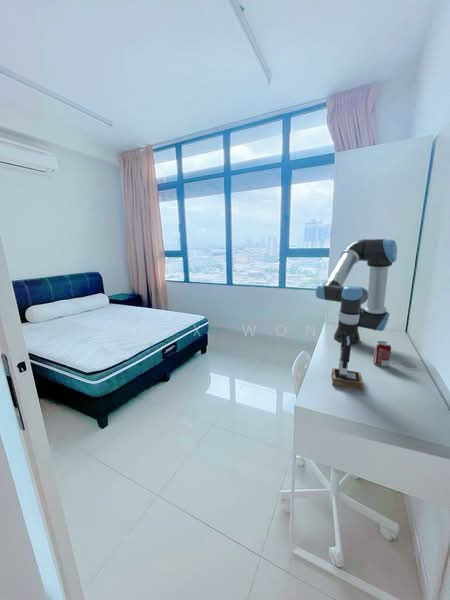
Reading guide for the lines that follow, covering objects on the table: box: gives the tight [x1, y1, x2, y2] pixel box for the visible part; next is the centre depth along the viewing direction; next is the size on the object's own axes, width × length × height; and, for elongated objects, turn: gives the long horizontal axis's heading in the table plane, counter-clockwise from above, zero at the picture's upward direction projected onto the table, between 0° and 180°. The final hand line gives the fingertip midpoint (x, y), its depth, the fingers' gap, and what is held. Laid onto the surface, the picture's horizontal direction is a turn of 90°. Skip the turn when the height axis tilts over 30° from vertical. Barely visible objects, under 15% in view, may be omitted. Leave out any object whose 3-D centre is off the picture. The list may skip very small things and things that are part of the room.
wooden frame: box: [331, 367, 365, 392], centre depth 112 cm, size 10×12×4 cm
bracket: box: [337, 346, 356, 381], centre depth 110 cm, size 7×5×14 cm
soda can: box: [372, 340, 392, 368], centre depth 127 cm, size 7×7×12 cm
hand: (342, 370), depth 112 cm, fingers closed on bracket, 5 cm apart
